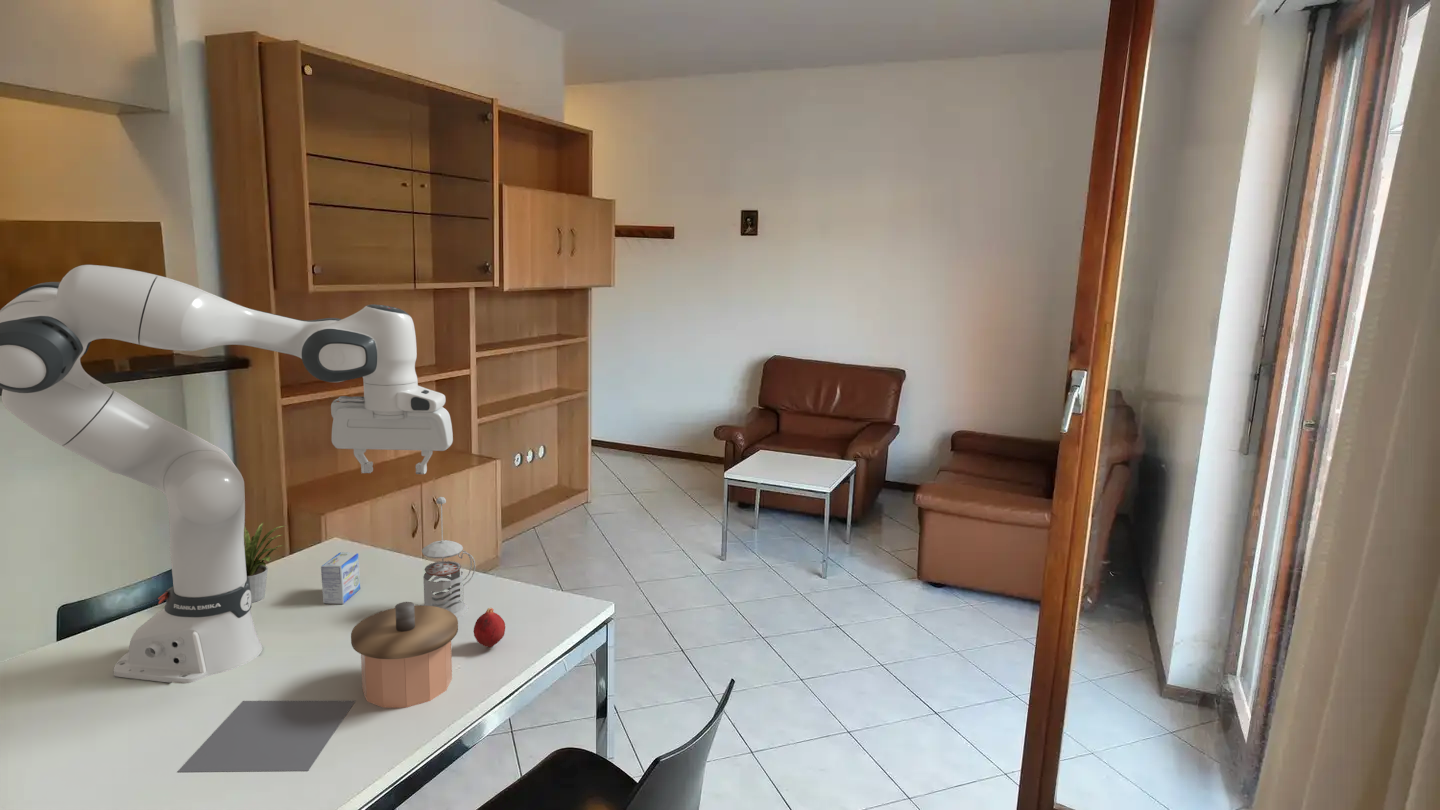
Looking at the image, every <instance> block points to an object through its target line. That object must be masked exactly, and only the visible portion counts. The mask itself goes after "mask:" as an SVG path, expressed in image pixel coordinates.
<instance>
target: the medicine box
mask: <svg viewBox="0 0 1440 810" xmlns="http://www.w3.org/2000/svg"><path fill="white" fill-rule="evenodd" d="M359 559H360V557H359V553H358V552H349V551H347V552H344V551H343V552H342V551H341V552H338V553H337V554H336V555H334V556H333V557H332V558H330V559H329V560H328V561H326V562H325V563H324V564H322V565H321V566H320V572H321V573H320V575H321V586H322V587H321V588H322V600H323V601H322V602H323V604H329V605H330V604H331V605H334V604H335V605H344V604H346V602H348V601H349V600H350V598H352V597H353V596H355V594H356V593H357V592H358V591H359V590H361V580H360V579H361V578H360V577H361V576H360V560H359Z"/></svg>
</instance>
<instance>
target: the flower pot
mask: <svg viewBox="0 0 1440 810" xmlns="http://www.w3.org/2000/svg"><path fill="white" fill-rule="evenodd" d="M452 655H453V654H452V640H451V641H450V642H449V643H447V644H446V645H444V646H443V647H441V648H439V649H437V650H434V651H432V652H429V653H426V654H423V655H419V656H415V657H409V658H402V659H377V658H371V657H367V656H364V655H362V654H360V662H361V663H360V664H361V665H360V666H361V684H362V687H361V688H362V692H363V696H364V697H365V700H366V702H368V703H370V704H373V705H375V706H379V707H380V708H382V709H383V708H385V709H387V708H388V709H389V708H391V709H392V708H394V709H395V708H398V709H399V708H401V709H403V708H410V707H414V706H417V705H421V704H424V703H428V702H431V701H433V700H434V699H436V698H438V697H439V696H440V695H442V694H443V693H445V692H447V690H448V688H449V687H450V684H451V682H452V681H453V669H452V668H453V666H452V665H453V664H452V663H453V661H452Z"/></svg>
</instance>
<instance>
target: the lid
mask: <svg viewBox="0 0 1440 810" xmlns="http://www.w3.org/2000/svg"><path fill="white" fill-rule="evenodd" d="M458 631H459V620H458V618H457V617H456V616H455V615H454V614H453V613H452V612H450V611H448V610H446V609H443V608H439V607H434V606H424V604H423V605H418V604H417V605H416V604H415V603H414V602H412V601H403V602H399V603H397V604H396V605H395V606H394V607H393V608H388V609H386V610H385V609H384V610H382V611H379V612H376V613H374V614H371V615H369V616H367V617H364V619H362V620H361V621H359V622H358V623H357V624H356V625H354V627H353V629H352V630H351V633H350V643H351V647H352V648H353V650H354V651H355V652H357V653H358V654H359V655H361V654H362V655H364V656H367V657H371V658H377V659H402V658H409V657H415V656H419V655H423V654H426V653H429V652H432V651H434V650H437V649H439V648H441V647H443V646H444V645H446V644H447V643H449V642H450V641H451V642H452V640H454V638H455V637H456V636H457V634H458Z"/></svg>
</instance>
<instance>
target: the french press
mask: <svg viewBox="0 0 1440 810" xmlns="http://www.w3.org/2000/svg"><path fill="white" fill-rule="evenodd" d="M446 503H447V500H446V498H445V497H444V496H439V497H438V498H436V504H438V505H440V516H441V517H440V519H441V520H440V521H441V525H440V526H441V540H435V541H433V542H431V543H428V545H426V546H424V547H423V548H422V550H421V553H422V555H423V556H424V557H426V558H429V559H441V561H435V562H432V563H429V564H428V565H427V566H425V568H424V571H425V572H424V574H423V602H424V604H423V606H434V607H439V608H443V609H446V610H448V611H450V612H452V613H453V614H454V615H455V616H456V617H457V619H459V618H461V617H463V616H464V615H465V614H466V613H468V610H469V607H468V605H467V604H466V603H465V601H464V600H465V597H464V588H465V586H466V584H468V583H470V582H471V580H472V578H473V577H474V575H475V573H476V572H475V571H476V560H475V558H474V556H473V555H472V554H471V553H469V552H468V551H466V550H464V547H463V545H462V544H460V543H459V542H456V541H453V540H446V539H445V540H444V536H443V535H444V533H443V531H444V530H443V505H444V504H446ZM461 552H462V553H461ZM460 554H461V555H460ZM463 554H466V555H467V556H468V557H469V560H470V566H469V567H470V568H469V571H468V573H467V575H466V577H464V575H463V571H462V570H461V567H462V565H461V564H460V563H459V562H457V561H452V560H451V561H450V560H444V559H447V558H453V557H455V556H458V557H459V558H460V559H463V557H464V555H463ZM472 564H473V565H472ZM472 568H473V571H472ZM471 571H472V575H471V577H470V578H469V579H468V580H467V578H468V577H469V576H470V574H471ZM431 578H432V579H431ZM430 579H431V580H430ZM439 579H447V580H439ZM436 580H438V581H436ZM466 580H467V581H466ZM464 581H466V582H465V583H464ZM446 590H447V591H446ZM434 593H435V594H434Z"/></svg>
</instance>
